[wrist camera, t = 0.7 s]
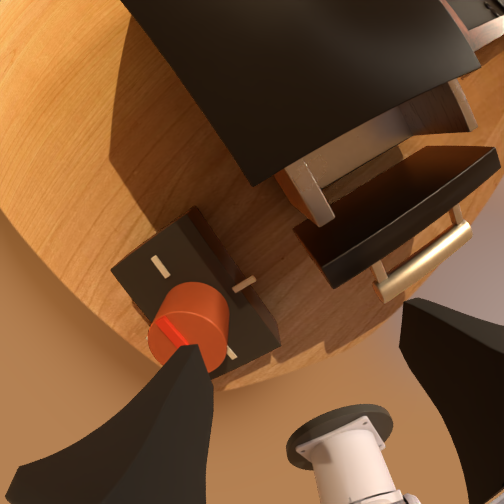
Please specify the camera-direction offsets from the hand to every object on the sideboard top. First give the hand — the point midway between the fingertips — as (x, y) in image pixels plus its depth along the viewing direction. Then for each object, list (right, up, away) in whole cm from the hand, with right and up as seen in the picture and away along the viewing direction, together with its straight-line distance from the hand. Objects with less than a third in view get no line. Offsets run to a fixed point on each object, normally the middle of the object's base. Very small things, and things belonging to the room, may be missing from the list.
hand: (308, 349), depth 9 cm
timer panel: (-5, +1, +10) cm, 12 cm away
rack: (+3, +11, +6) cm, 13 cm away
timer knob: (-5, 0, +7) cm, 9 cm away
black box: (-1, +17, +5) cm, 18 cm away
